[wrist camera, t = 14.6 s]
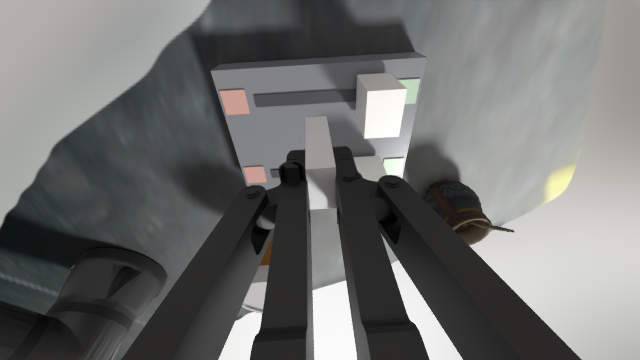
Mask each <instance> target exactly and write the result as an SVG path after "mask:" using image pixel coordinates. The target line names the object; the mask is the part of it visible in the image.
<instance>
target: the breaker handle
mask: <svg viewBox="0 0 640 360" xmlns="http://www.w3.org/2000/svg"><path fill="white" fill-rule="evenodd" d="M353 158H354V161H355V164H356V168H357V171H358V172H359V173H360V174H361V175H362V177H363V178H364V179H367V180H370V181H377V182H378V180H379V179H380V178H381V177H382V176H385V175H387V173H386V171H385V168H384V166H383V164H382V162H381V159H380V157H379V156H364V157H353Z"/></svg>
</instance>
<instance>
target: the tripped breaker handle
mask: <svg viewBox="0 0 640 360" xmlns="http://www.w3.org/2000/svg"><path fill="white" fill-rule="evenodd" d="M406 93H407V88H406V87H405V86H404V85H402V84H401V83H400V82H399V81H398V80H397V79H396V78H395V77H394V76H393V75H391V74H390V73H378V74H361V75H357V92H356V115H355V116H356V119H357V121H358V124H359V127H360V129H361V132H362V135H363V137H364V139H369V138H385V137H399V133H400V127H401V122H402V116H403V110H404V105H405V99H406Z"/></svg>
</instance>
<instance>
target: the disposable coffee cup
mask: <svg viewBox="0 0 640 360" xmlns="http://www.w3.org/2000/svg"><path fill="white" fill-rule="evenodd" d="M273 234H274V233H273ZM272 241H273V236H272V238H271V240H270V243H269V245H268V247H267V249H266V252H265V254H264V256H263V258H262V261H261V263H260V265H259V268H258V270H257V272H256V274H255V277H254V279H253V281H252V283H251V286H250V288H249V290H248V293H247V295H246V297H245V299H244V302H243V304H242V307H244V308H245V309H248V310H250V311H254V312H258V313H263V306H264V299H265V292H266V285H267V277H268V270H269V263H270V256H271V248H272Z"/></svg>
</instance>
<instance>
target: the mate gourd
mask: <svg viewBox="0 0 640 360" xmlns="http://www.w3.org/2000/svg"><path fill="white" fill-rule="evenodd" d="M423 200H424V201H425V202H426V203H427V204H428V205H429V206H430V207H431V208H432V209H433V210H434V211H435V212H436V213H437V214H438V215H439V216H440V217H441V218H442V219H443V220H444V221H445V222H446V223H447V224H448V225H449V226H450V227H451V228H452V229H453V230H454V231H455V232H456V233H457V234H458V235H459V236H460V237H461V238H462V239H463V240H464V241H465V242H466V243H467V244H468V245H472V244H475V243H477V242H479V241H481V240H482V239H484V238H485V237H486V236H487V235H488V234H489V232H490V231H491V229H494V230H495V229H496V230H500V231H507V232H514V231H513V230H510V229H506V228H502V227H498V226H492V223H491V221H490V220H489V219H488V218H487V217H486V215H485V214H483V213H482V212H483V211H482V208H481V203H480V201H479V197H478V196H477V195H476V194H475V192H474V191H473V190H472V189H471V188H469V187H468V186H466V185H464V184H462V183H460V182H457V181H444V182H440V183H437V184H435V185H433V186H432V187H431V186H430V188H429V189H428V191H427V192H426V194H425V196H424V198H423Z"/></svg>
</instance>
